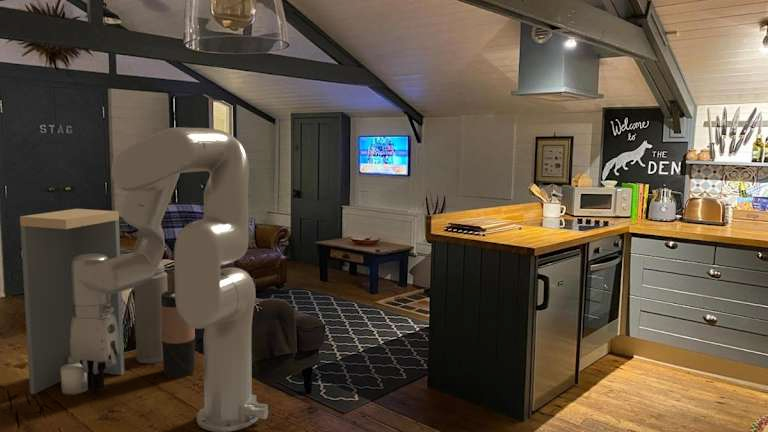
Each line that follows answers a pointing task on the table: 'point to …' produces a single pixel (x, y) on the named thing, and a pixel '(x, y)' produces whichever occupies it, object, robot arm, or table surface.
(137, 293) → the thermos bottle
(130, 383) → the table surface
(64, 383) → the cream smooth rounded cylinder
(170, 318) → the travel mug
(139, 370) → the table surface
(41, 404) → the table surface
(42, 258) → the counter
